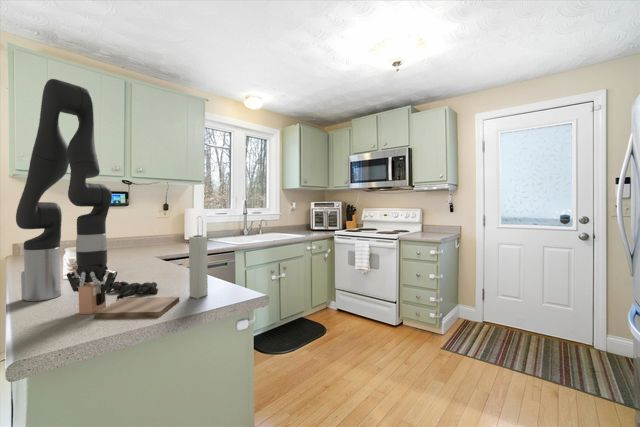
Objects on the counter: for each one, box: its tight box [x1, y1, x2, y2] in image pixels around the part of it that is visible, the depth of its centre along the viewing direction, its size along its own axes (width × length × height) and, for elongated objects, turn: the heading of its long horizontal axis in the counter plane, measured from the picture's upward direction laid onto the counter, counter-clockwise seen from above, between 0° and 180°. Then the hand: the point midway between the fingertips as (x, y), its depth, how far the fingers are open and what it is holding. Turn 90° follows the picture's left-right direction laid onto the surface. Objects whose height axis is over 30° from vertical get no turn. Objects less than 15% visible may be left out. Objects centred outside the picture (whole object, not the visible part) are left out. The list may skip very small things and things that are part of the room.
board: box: [93, 296, 180, 319], centre depth 92 cm, size 18×14×2 cm
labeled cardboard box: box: [78, 282, 107, 315], centre depth 91 cm, size 4×6×8 cm, turn 3°
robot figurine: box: [106, 281, 159, 300], centre depth 111 cm, size 18×4×20 cm
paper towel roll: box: [188, 234, 209, 299], centre depth 106 cm, size 7×6×21 cm
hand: (93, 304), depth 91 cm, fingers closed on labeled cardboard box, 3 cm apart
